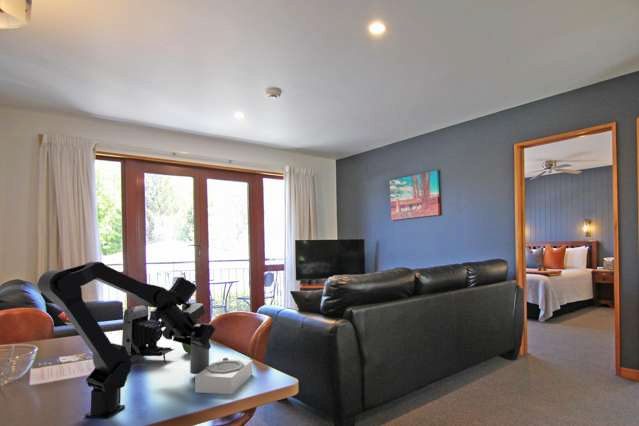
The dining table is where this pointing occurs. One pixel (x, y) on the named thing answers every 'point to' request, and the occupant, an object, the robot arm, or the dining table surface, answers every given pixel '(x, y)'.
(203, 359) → the lens
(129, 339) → the vintage camera
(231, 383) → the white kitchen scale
